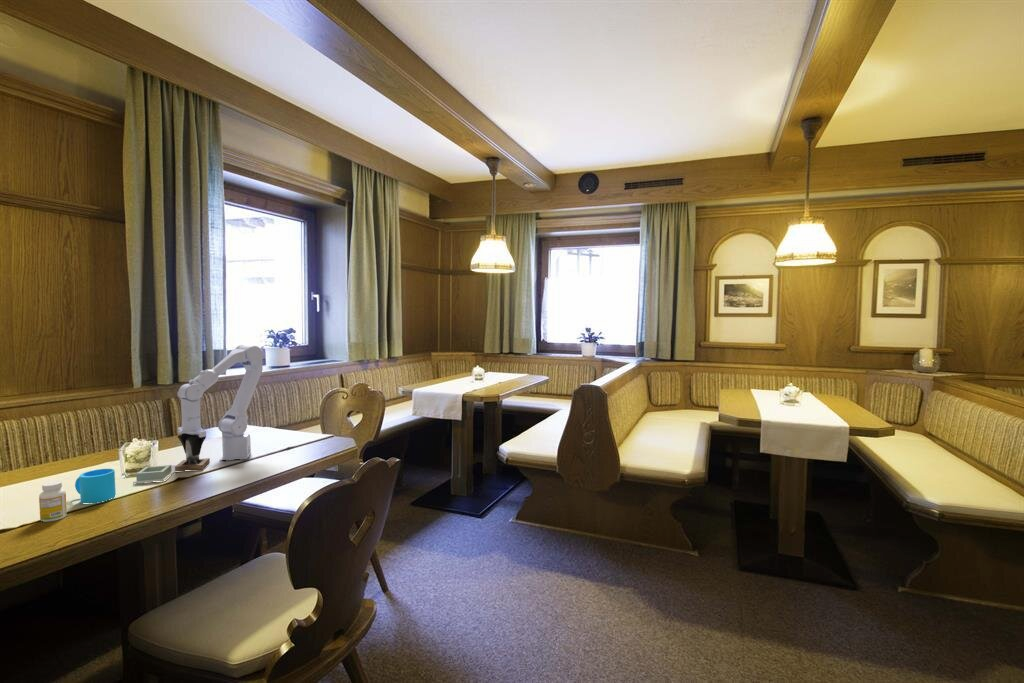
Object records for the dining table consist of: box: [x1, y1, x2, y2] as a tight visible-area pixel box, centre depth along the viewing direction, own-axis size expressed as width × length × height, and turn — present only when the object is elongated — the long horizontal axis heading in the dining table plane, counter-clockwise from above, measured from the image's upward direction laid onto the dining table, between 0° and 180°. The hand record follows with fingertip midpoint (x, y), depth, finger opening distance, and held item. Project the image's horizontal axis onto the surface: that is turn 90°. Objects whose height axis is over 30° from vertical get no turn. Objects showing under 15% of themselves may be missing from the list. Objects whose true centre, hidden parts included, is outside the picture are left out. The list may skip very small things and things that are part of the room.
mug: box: [74, 468, 117, 504], centre depth 151 cm, size 12×8×8 cm
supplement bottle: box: [38, 480, 68, 523], centre depth 137 cm, size 5×5×10 cm
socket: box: [174, 457, 211, 471], centre depth 182 cm, size 9×9×2 cm
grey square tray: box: [132, 464, 176, 485], centre depth 170 cm, size 9×9×3 cm
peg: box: [185, 439, 200, 465], centre depth 181 cm, size 4×4×9 cm
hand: (192, 454), depth 181 cm, fingers closed on peg, 4 cm apart
